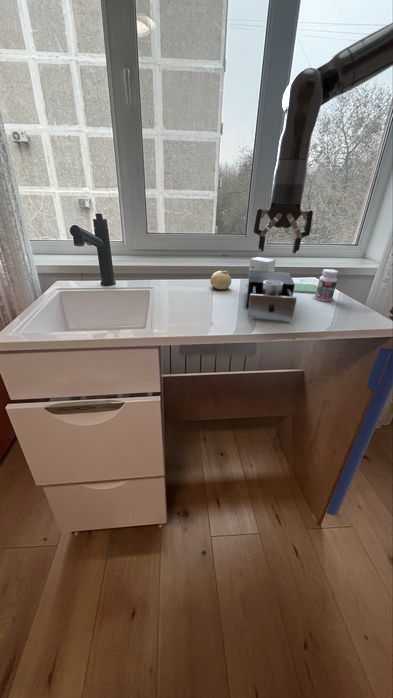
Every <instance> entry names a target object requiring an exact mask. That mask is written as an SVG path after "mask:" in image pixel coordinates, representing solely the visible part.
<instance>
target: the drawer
mask: <svg viewBox="0 0 393 698" xmlns="http://www.w3.org/2000/svg"><path fill="white" fill-rule="evenodd" d="M262 288H263V285H256V284H253V285H252V294H250V301H249V308H248V309H247V318H249V319H260V320H262V319H263V320H272V321H283V322H284V321H285V322H293V320H294V319H293V318H294V313H295V309H296V303H297V296H294V295H293V296H292V293H291V290H290V288H289V287H286V286H283V288H282V294H281V296H277V295H263V294H262Z"/></svg>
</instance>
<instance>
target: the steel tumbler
mask: <svg viewBox="0 0 393 698" xmlns="http://www.w3.org/2000/svg"><path fill="white" fill-rule="evenodd" d="M282 288H283V282H281V281H277V280H265V281H263V288H262V294H263V295H277V296H281V294H282Z"/></svg>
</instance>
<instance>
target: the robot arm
mask: <svg viewBox="0 0 393 698" xmlns="http://www.w3.org/2000/svg"><path fill="white" fill-rule="evenodd" d="M391 67H393V22H391V23H389V24H387V25H385V26H383V27H381V28H380V29H378V30H375V31H374V32H372V33H370V34H368V35H366V36H364V37H362V38H361V39H359V40H357V41H356V42H354V43H352V44H350V45H348V46H347V47H345V48H343V49H342V50H340V51H338V52H337V53H336V54H334V55H333V56H332V57H330V59H329V60H328V61H326V62H325V63H323V64H322V65H320V66H319V67H317V68H314V67H306V68H304V69H303V70H302V69H301V71H300V72H298V73H297V74H296V75H295V76H294V77H293V79H292V80H291V81H290V83H289V84H288V85H287V87H286V89H285V91H284V93H283V95H282V109H283V111H284V113H285V115H286V117H285V123H284V129H283V130H282V133H281V135H280V137H279V138H280V139H279V143H278V150H277V157H276V163H275V164H276V165H275V168H274V171H273V172H274V173H273V178H272V188H271V193H270V194H271V195H270V202H269V207H268V209H266V208H265V209H263V208H260V207H259V208H257V210H256V214H255V219H254V226H253V233H254V234H256V235H257V236H259V240H258V249H259V250H260V252H264V250H265V242H266V235H267V233H268V232H270V230H271V229H272V228H273V227H275V228H276V229H279V228H284V229H289V228H291V229H292V231H293V232H294V235H295V237H294V241H293V246H292V251H291V252H292V254H297V252H298V251H299V250H300V247H301V242H302V238H304V237H309V236H310V235H311V229H312V222H313V215H314V212H313V210H311V209H307V210H302V209H301V208H302V207H301V206H302V202H303V201H302V200H303V195H304V190H305V183H306V179H307V172H308V160H309V156H310V155H309V154H310V149H311V142H312V136H313V133H314V130H315V127H316V124H317V120H318V117H319V114H320V110H321V107H322V106H323V105H325V104H327V103H328V102H329V101H331V100H333V99H334V98H337V97H339V96H341V95H344V94H346V93H348V92H350V91H352V90H354V89H355V88H357V87H359V86H360V85H361V86H362V85H363V84H365V83H366V82H368V81H370V80H371V79H373V78H375V77H377V76H378V75H380V74H382V73H384V72H386V70H388V69H390V68H391ZM265 215H267V217H268V219H269V220H268V222H267V223H266V224H265V226H264V227H263V228H262V229H260V224H261V219H263V218H265ZM301 216H302V219H303V220H304V228H303V230H302V231H301V230H300V227H299V226H298V224H297V221H298V220H299V218H301ZM388 313H390V314H391V315H388V318H389V319H391V321H393V305H392V306H391V308H390V310H389V312H388Z"/></svg>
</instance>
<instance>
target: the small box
mask: <svg viewBox="0 0 393 698" xmlns="http://www.w3.org/2000/svg"><path fill="white" fill-rule="evenodd" d="M275 267H276V259H273V258H266V257H262V256H255V257H252V258H250V259H249V268H248V271H249V270H253V271H269V272H275V269H276V268H275ZM248 279H249V277H248ZM248 279H247V280H248Z"/></svg>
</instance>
